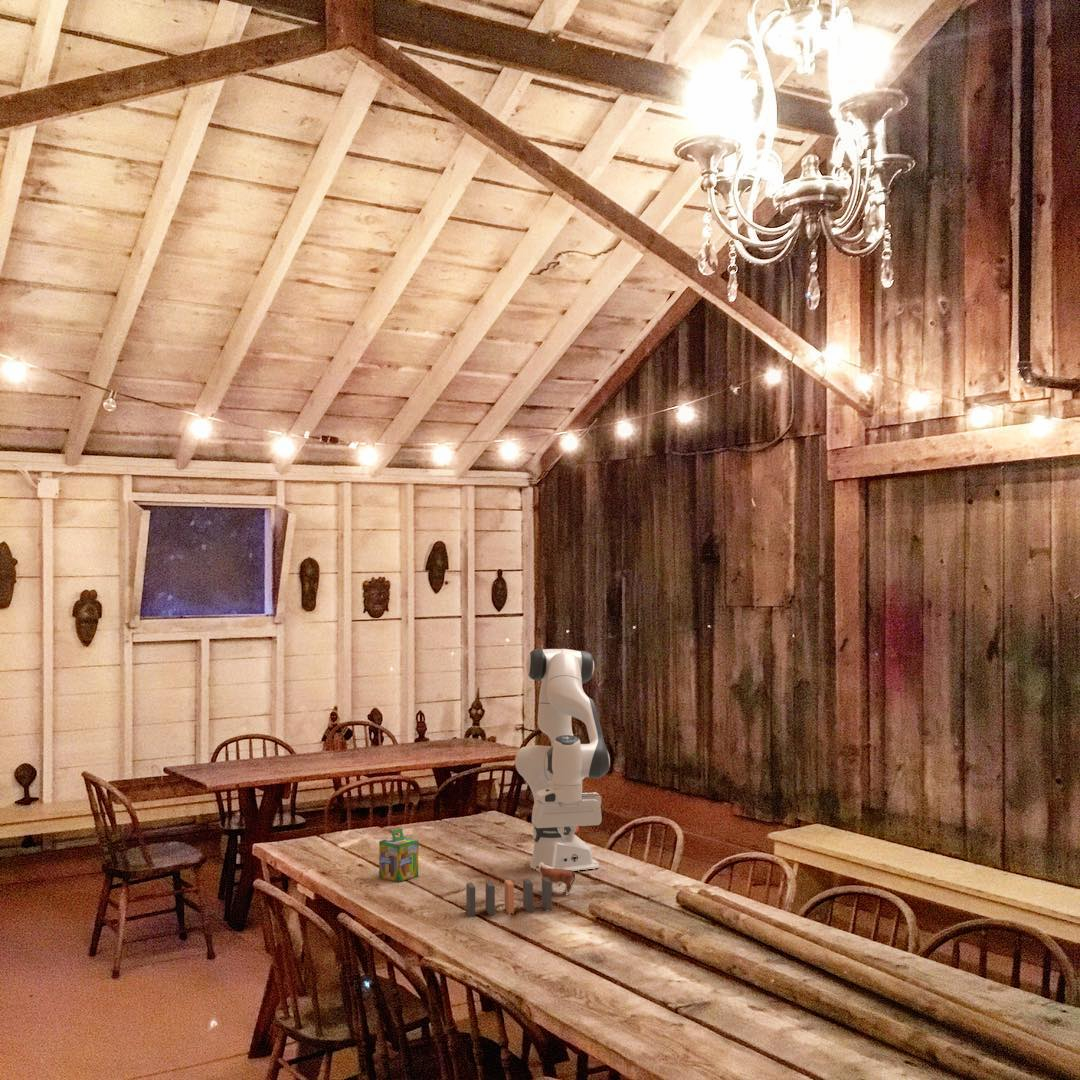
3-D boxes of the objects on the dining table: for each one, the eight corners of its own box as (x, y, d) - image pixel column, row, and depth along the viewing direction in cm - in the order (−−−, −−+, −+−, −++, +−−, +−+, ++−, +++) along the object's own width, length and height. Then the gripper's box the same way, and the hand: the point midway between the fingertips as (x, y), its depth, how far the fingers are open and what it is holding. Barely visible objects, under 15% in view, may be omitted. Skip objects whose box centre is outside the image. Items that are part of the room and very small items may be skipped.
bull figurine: (538, 887, 331) (538, 860, 331) (577, 893, 324) (577, 866, 324) (531, 890, 327) (531, 863, 327) (570, 897, 320) (570, 869, 320)
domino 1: (471, 911, 306) (472, 882, 307) (475, 916, 302) (475, 887, 302) (466, 911, 306) (466, 883, 306) (469, 916, 301) (469, 887, 301)
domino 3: (509, 908, 309) (510, 879, 309) (513, 913, 304) (514, 884, 305) (504, 908, 309) (504, 880, 309) (508, 913, 304) (508, 884, 304)
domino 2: (490, 909, 308) (491, 881, 308) (494, 914, 303) (494, 885, 303) (485, 910, 307) (485, 881, 308) (489, 915, 303) (489, 886, 303)
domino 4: (528, 906, 310) (528, 878, 311) (532, 911, 306) (532, 883, 306) (523, 907, 310) (523, 879, 310) (527, 912, 305) (527, 883, 306)
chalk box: (398, 883, 335) (399, 834, 336) (377, 878, 341) (378, 830, 341) (419, 876, 342) (419, 829, 343) (398, 872, 348) (399, 825, 348)
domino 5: (547, 905, 312) (547, 877, 312) (551, 910, 307) (551, 881, 308) (541, 905, 311) (541, 877, 312) (546, 910, 307) (546, 882, 307)
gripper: (598, 789, 318) (597, 837, 317) (530, 792, 313) (530, 841, 312) (604, 793, 312) (604, 842, 311) (535, 796, 307) (535, 846, 306)
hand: (566, 842), depth 312 cm, fingers closed
